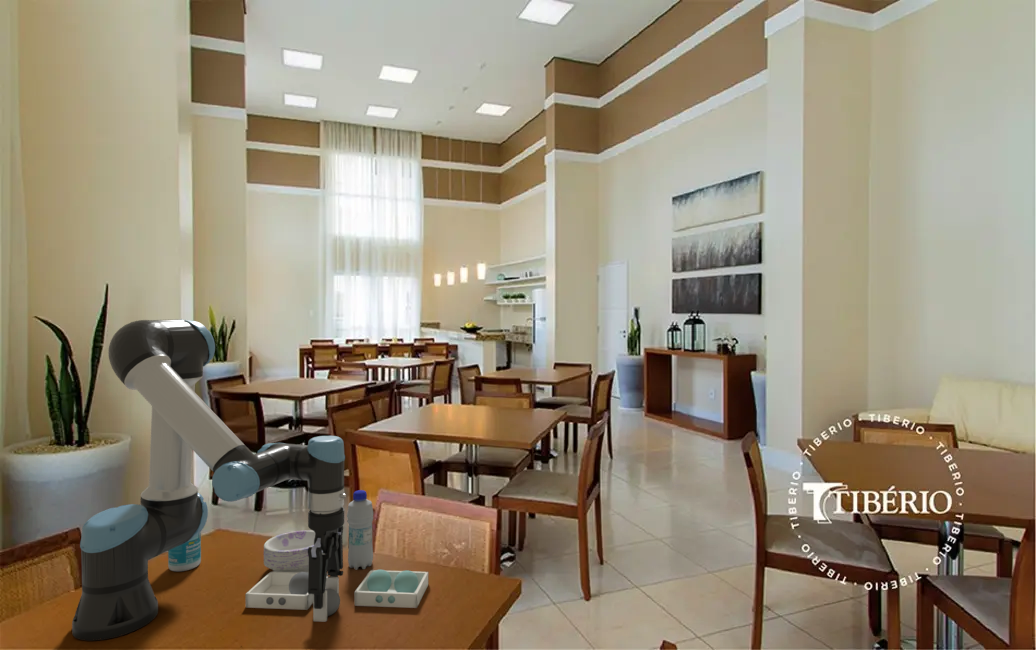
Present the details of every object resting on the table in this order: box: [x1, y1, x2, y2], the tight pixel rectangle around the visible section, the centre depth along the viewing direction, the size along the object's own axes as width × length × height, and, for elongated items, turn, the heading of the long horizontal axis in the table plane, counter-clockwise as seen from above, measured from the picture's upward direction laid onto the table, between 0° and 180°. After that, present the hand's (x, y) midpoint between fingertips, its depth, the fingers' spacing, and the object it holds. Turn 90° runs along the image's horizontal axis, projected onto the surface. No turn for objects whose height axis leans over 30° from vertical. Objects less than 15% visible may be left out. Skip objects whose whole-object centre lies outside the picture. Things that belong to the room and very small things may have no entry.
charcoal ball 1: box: [289, 572, 309, 595], centre depth 134 cm, size 6×6×6 cm
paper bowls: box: [263, 529, 323, 573], centre depth 149 cm, size 15×15×8 cm
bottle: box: [346, 489, 375, 571], centre depth 151 cm, size 7×7×20 cm
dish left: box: [245, 571, 329, 611], centre depth 134 cm, size 14×12×4 cm
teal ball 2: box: [394, 569, 418, 593], centre depth 135 cm, size 6×6×6 cm
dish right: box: [353, 569, 429, 609], centre depth 135 cm, size 14×11×4 cm
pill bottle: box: [167, 531, 202, 572], centre depth 151 cm, size 8×7×14 cm
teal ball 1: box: [367, 568, 391, 592], centre depth 135 cm, size 6×6×6 cm
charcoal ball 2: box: [325, 589, 341, 617], centre depth 127 cm, size 6×6×6 cm
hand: (326, 613), depth 127 cm, fingers open, 6 cm apart
